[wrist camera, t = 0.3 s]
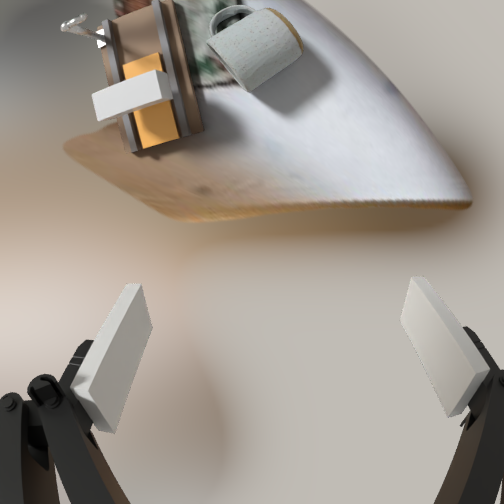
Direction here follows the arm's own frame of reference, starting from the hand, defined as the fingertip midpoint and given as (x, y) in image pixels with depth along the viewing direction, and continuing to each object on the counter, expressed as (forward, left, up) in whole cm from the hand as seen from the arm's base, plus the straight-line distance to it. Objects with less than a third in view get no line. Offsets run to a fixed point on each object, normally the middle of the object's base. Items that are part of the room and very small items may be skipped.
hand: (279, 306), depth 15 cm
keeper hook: (-23, -14, -25) cm, 37 cm away
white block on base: (-13, -11, -25) cm, 30 cm away
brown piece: (-16, -11, -27) cm, 33 cm away
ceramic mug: (-17, +1, -27) cm, 32 cm away
